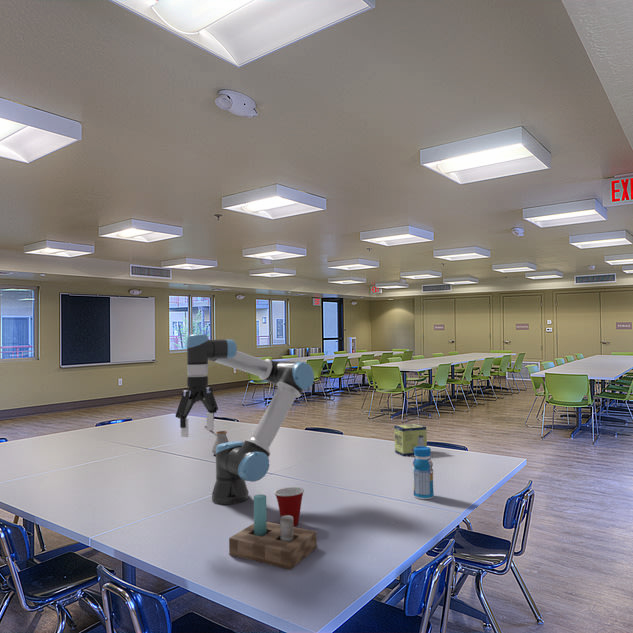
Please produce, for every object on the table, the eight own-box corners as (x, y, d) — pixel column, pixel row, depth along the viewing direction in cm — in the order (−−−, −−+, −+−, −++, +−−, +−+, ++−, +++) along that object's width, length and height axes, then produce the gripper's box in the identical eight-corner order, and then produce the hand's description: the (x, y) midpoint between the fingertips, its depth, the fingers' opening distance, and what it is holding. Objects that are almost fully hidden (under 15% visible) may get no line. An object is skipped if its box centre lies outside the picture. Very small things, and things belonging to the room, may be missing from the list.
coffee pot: (235, 453, 277) (235, 427, 278) (220, 457, 268) (220, 430, 269) (212, 449, 291) (212, 424, 292) (197, 452, 282) (196, 427, 283)
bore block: (259, 535, 160) (259, 502, 160) (316, 547, 149) (316, 512, 150) (229, 554, 146) (229, 518, 146) (290, 569, 135) (289, 530, 136)
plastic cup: (292, 516, 177) (292, 483, 177) (310, 524, 169) (310, 490, 169) (268, 523, 170) (268, 489, 171) (286, 532, 162) (285, 496, 162)
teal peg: (258, 541, 153) (258, 493, 153) (269, 543, 151) (268, 495, 152) (251, 545, 149) (251, 497, 150) (262, 548, 147) (261, 499, 148)
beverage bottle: (419, 501, 191) (417, 450, 192) (409, 494, 199) (408, 446, 200) (438, 498, 193) (436, 449, 194) (427, 492, 201) (426, 444, 202)
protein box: (394, 452, 274) (393, 425, 275) (418, 450, 278) (417, 423, 279) (403, 456, 264) (402, 428, 265) (427, 454, 268) (426, 426, 269)
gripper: (212, 373, 189) (212, 426, 188) (165, 378, 167) (165, 439, 166) (226, 373, 186) (227, 428, 185) (181, 378, 164) (181, 440, 163)
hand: (197, 433), depth 175 cm, fingers open, 13 cm apart
